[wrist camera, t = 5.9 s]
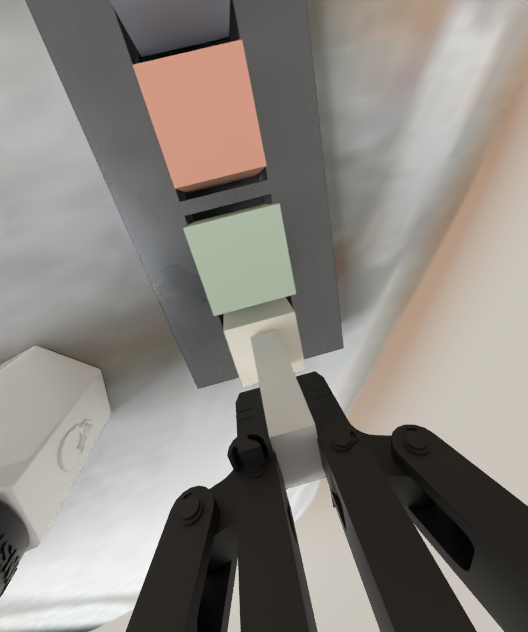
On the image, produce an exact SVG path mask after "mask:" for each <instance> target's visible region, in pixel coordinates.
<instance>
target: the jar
mask: <svg viewBox="0 0 528 632" xmlns="http://www.w3.org/2000/svg"><path fill="white" fill-rule="evenodd" d="M110 415H111V409H110V405H109V401H108V397H107V393H106V389H105V385H104V381H103V376H102V372H101V370H100V369H99V368H96V367H94V366H91V365H88V364H85V363H83V362H80V361H77V360H75V359H72V358H69V357H66V356H64V355H61V354H58V353H56V352H53V351H50V350H47V349H45V348H42V347H39V346H33V347H31V348H29V349H28V350H26V351H24V352H22V353H20V354H18V355H17V356H15V357H13V358H11V359H9V360H8V361H6V362H4V363H2V364H0V597H1V596H2V594H3V593H4V591H5V589H6V588H7V586H8V584H9V582H10V581H11V579H12V577H13V575H14V574H15V572H16V570H17V566H18V564H19V561H20V560H21V558H22V556H23V554H24V553H25V552H27V551H29V550H31V549H34V548H36V547H37V546H38V545H39V544H40V543H41V541H42V539H43V537H44V536H45V534H46V532H47V530H48V528H49V526H50V525H51V523H52V521H53V519H54V517H55V515H56V514H57V512H58V510H59V508H60V506H61V504H62V503H63V501H64V499H65V497H66V495H67V493H68V492H69V490H70V488H71V486H72V484H73V483H74V481H75V479H76V477H77V475H78V473H79V472H80V470H81V468H82V466H83V464H84V462H85V461H86V459H87V457H88V455H89V453H90V451H91V450H92V448H93V446H94V444H95V442H96V440H97V439H98V437H99V435H100V433H101V431H102V429H103V428H104V426H105V424H106V422H107V420H108V418H109V417H110Z"/></svg>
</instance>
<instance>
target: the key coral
mask: <svg viewBox="0 0 528 632" xmlns="http://www.w3.org/2000/svg"><path fill="white" fill-rule="evenodd" d="M133 68H134V71H135V74H136V77H137V79H138V82H139V85H140V88H141V91H142V94H143V97H144V100H145V103H146V106H147V109H148V112H149V115H150V117H151V120H152V123H153V126H154V129H155V132H156V135H157V138H158V141H159V144H160V147H161V150H162V153H163V155H164V158H165V161H166V164H167V167H168V170H169V173H170V176H171V179H172V182H173V185H174V188H175V189H177V190H181V191H184V192H187V193H192V192H196V191H200V190H204V189H208V188H211V187H215V186H219V185H223V184H227V183H231V182H235V181H239V180H243V179H247V178H251V177H255V176H256V175H257V174H258V173H259V172H260V171H261V170H263V169H264V168H265V167H266V166H267V165H266V160H265V155H264V150H263V145H262V139H261V134H260V129H259V124H258V119H257V114H256V108H255V103H254V98H253V93H252V88H251V83H250V77H249V72H248V67H247V62H246V57H245V52H244V46H243V41H242V39H241V40H237V41H233V42H228V43H224V44H220V45H215V46H211V47H207V48H203V49H198V50H194V51H190V52H185V53H181V54H177V55H172V56H168V57H164V58H160V59H155V60H151V61H147V62H142V63H138V64H134V65H133Z"/></svg>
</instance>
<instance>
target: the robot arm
mask: <svg viewBox="0 0 528 632" xmlns="http://www.w3.org/2000/svg"><path fill="white" fill-rule="evenodd" d="M251 343H252V348H253V353H254V359H255V364H256V369H257V375H258V380H259V386H260V388H257V389H253V390H250V391H246V392H242V393H240V394H239V396H238V399H237V401H236V419H237V438H236V439H234V440H233V442H232V443H231V445H230V447H229V450H228V455H227V456H228V458H229V460H230V463H231V465H232V467H233V471H232V472H231V473H230V474H229V475H228V476H227V477H226V478H225V479H224V480H223V481H221V482H220V483H218V484H216V485H215V486H213V487H212V488H210V489H208V488H206V487H203V486H196V487H192V488H190V489H188V490H187V491H185V492H183V493H182V494H181V495H180V497H179V498H178V499H177V500H176V501H175V503H174V505H173V507H172V509H171V511H170V514H169V516H168V519H167V522H166V524H165V527H164V530H163V532H162V535H161V538H160V540H159V543H158V546H157V549H156V551H155V554H154V557H153V559H152V562H151V565H150V567H149V570H148V573H147V576H146V578H145V581H144V584H143V586H142V589H141V592H140V594H139V597H138V600H137V602H136V605H135V608H134V611H133V613H132V616H131V619H130V621H129V624H128V627H127V629H126V632H227V629H228V622H229V615H230V608H231V601H232V594H233V587H234V580H235V572H236V566H237V559H238V567H239V568H238V569H239V596H240V620H241V621H240V622H241V623H240V625H241V632H317V627H316V623H315V618H314V613H313V609H312V604H311V600H310V595H309V590H308V586H307V581H306V576H305V572H304V568H303V563H302V558H301V553H300V549H299V544H298V540H297V535H296V531H295V526H294V521H293V516H292V512H291V507H290V504H289V501H288V497H287V493H286V489H288V488H291V487H294V486H298V485H301V484H305V483H308V482H311V481H315V480H318V479H322V478H325V475H326V477H327V480H328V483H329V486H330V491H331V496H332V502H333V507H336V510H337V512H338V515H339V518H340V521H341V523H342V526H343V529H344V532H345V535H346V537H347V540H348V543H349V546H350V548H351V551H352V554H353V557H354V560H355V562H356V565H357V568H358V571H359V573H360V576H361V579H362V581H363V585H364V587H365V590H366V593H367V596H368V598H369V601H370V604H371V607H372V609H373V612H374V615H375V618H376V621H377V623H378V626H379V629H380V632H477V631H476V630H475V628H474V626H473V624H472V623H471V621H470V619H469V618H468V616H467V614H466V613H465V611H464V609H463V607H462V606H461V604H460V602H459V600H458V599H457V597H456V595H455V594H454V592H453V590H452V589H451V587H450V585H449V584H448V582H447V580H446V578H445V577H444V575H443V573H442V571H441V570H440V568H439V566H438V565H437V563H436V561H435V560H434V558H433V556H432V554H431V553H430V551H429V549H428V548H427V546H426V544H425V542H424V541H423V539H422V537H421V536H420V534H419V533H418V531H417V529H416V527H417V528H418V529H419V530H420V532H421V533H422V534H423V535H424V536H425V538H427V540H428V541H429V542H430V543H431V545H432V546H433V547H434V548H435V549H436V551H437V552H438V553H439V554H440V555H441V556H442V558H443V559H444V560H445V561H446V563H447V564H448V565H449V566H450V567H451V568H452V570H453V571H454V572H455V573H456V574H457V576H458V577H459V578H460V579H461V580H462V581H463V583H464V584H465V585H466V586H467V588H468V589H469V590H470V591H471V592H472V594H473V595H474V596H475V597H476V598H477V599H478V601H479V602H480V603H481V604H482V605H483V607H484V608H485V609H486V610H487V611H488V613H489V614H490V615H491V616H492V617H493V619H494V620H495V621H496V622H497V623H498V625H499V626H500V627H501V628H502V629H503V630H504V632H528V506H527V505H525V504H524V503H523V502H522V501H520V500H519V499H518V498H516V497H515V496H514V495H512V494H511V493H510V492H509V491H507V490H506V489H505V488H503V487H502V486H501V485H500V484H498V483H497V482H496V481H494V480H493V479H492V478H490V477H489V476H488V475H487V474H485V473H484V472H483V471H481V470H480V469H479V468H478V467H476V466H475V465H474V464H472V463H471V462H470V461H469V460H467V459H466V458H465V457H463V456H462V455H461V454H460V453H458V452H457V451H456V450H454V449H453V448H452V447H451V446H449V445H448V444H447V443H445V442H444V441H443V440H442V439H440V438H439V437H438V436H436V435H435V434H434V433H432V432H431V431H429V430H427V429H426V428H423V427H420V426H417V425H403V426H400V427H397V428H396V429H395V430H394V431H393V433H392V436H383V435H381V436H380V435H369V434H366V433H362V432H360V431H359V430H357V429H355V428H354V427H353V426H352V425H351V424H350V423H349V421H348V420H347V418H346V416H345V414H344V413H343V411H342V409H341V407H340V406H339V404H338V402H337V400H336V398H335V397H334V395H333V394H332V391H331V390H330V388H329V387H328V384H327V383H326V381H325V379H324V377H322V376H321V375H319V374H318V373H317V372H311V373H308V374H304V375H301V376H297V377H296V376H295V374H294V371H293V369H292V366H291V364H290V361H289V359H288V356H287V354H286V352H285V349H284V347H283V344H282V342H281V339H280V337H279V334H278V332H277V330H274V331H270V332H267V333H263V334H259V335H256V336H252V337H251ZM413 523H414V524H415V525H414V524H413ZM415 526H416V527H415Z"/></svg>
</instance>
